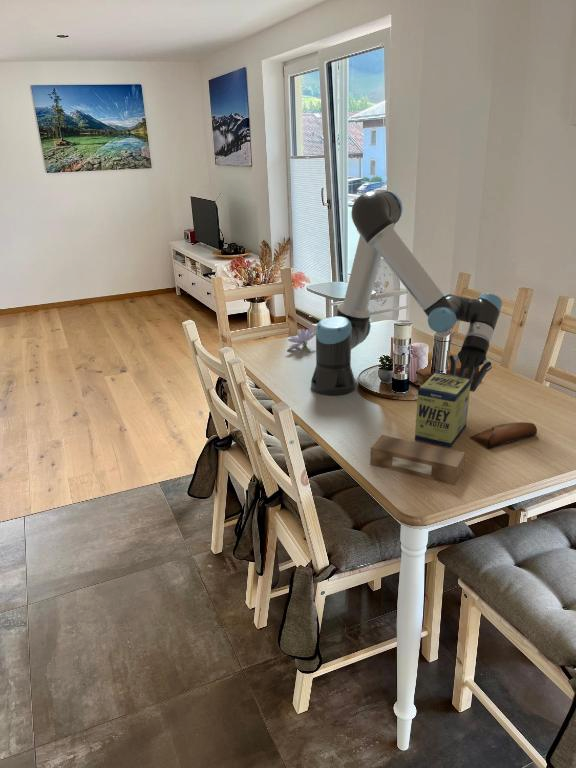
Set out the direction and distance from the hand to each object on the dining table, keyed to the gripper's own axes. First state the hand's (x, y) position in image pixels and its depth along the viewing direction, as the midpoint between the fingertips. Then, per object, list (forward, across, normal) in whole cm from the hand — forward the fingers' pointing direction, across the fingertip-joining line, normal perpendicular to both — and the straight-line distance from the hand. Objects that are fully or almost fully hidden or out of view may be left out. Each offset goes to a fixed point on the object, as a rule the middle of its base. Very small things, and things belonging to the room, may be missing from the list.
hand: (454, 409), depth 174 cm
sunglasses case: (+5, +15, +2) cm, 16 cm away
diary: (-20, -18, +27) cm, 39 cm away
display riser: (+25, +1, -19) cm, 31 cm away
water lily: (-21, -75, +28) cm, 83 cm away
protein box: (+9, -1, -3) cm, 10 cm away
